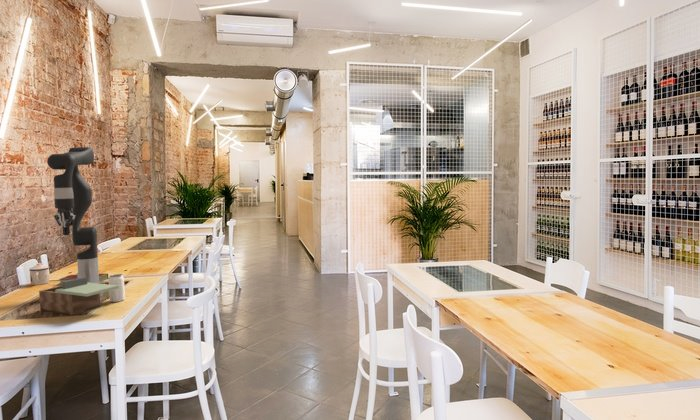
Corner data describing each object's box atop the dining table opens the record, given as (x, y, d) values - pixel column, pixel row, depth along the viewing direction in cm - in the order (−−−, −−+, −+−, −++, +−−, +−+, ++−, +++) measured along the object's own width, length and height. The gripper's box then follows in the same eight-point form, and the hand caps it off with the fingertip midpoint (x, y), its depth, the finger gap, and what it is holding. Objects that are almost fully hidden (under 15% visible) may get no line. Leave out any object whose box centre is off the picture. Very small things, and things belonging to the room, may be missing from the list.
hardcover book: (71, 281, 259) (70, 274, 259) (108, 279, 260) (108, 272, 260) (59, 286, 247) (58, 278, 247) (98, 284, 248) (98, 277, 248)
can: (118, 302, 207) (116, 277, 206) (106, 302, 208) (105, 276, 207) (128, 298, 213) (126, 274, 212) (116, 298, 214) (115, 273, 213)
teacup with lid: (32, 282, 254) (31, 262, 254) (51, 281, 258) (49, 261, 257) (27, 287, 244) (25, 266, 243) (46, 285, 247) (45, 264, 246)
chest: (40, 310, 196) (39, 290, 195) (71, 302, 208) (70, 283, 208) (70, 315, 188) (68, 294, 187) (100, 306, 200) (99, 287, 200)
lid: (55, 292, 190) (54, 282, 190) (88, 284, 203) (87, 275, 203) (86, 296, 182) (86, 286, 182) (118, 288, 195) (118, 278, 195)
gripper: (81, 197, 205) (83, 234, 206) (62, 197, 210) (65, 233, 211) (65, 198, 198) (67, 236, 199) (46, 198, 203) (49, 235, 204)
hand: (66, 235), depth 205 cm, fingers closed
